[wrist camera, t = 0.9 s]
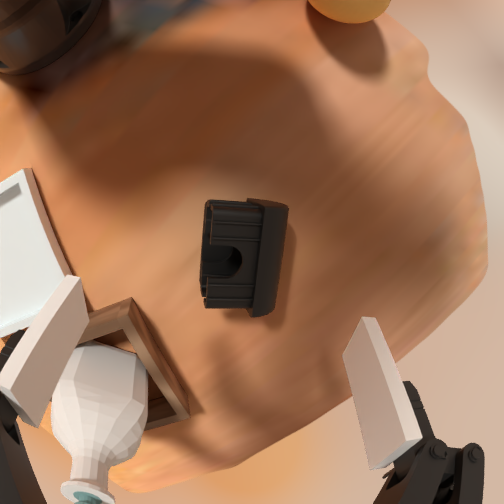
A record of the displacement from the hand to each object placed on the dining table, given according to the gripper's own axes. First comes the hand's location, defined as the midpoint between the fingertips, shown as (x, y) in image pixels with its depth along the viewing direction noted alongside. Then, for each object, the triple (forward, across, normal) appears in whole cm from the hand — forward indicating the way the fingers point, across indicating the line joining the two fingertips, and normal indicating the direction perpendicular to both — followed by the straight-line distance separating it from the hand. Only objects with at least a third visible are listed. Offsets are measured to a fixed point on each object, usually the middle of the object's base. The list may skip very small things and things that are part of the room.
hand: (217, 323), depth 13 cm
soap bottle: (+11, -13, -21) cm, 27 cm away
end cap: (+18, +1, -6) cm, 19 cm away
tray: (+12, -24, -8) cm, 28 cm away
